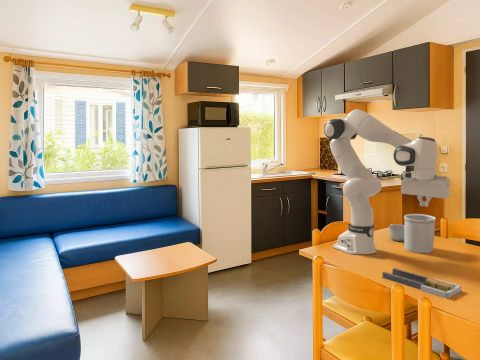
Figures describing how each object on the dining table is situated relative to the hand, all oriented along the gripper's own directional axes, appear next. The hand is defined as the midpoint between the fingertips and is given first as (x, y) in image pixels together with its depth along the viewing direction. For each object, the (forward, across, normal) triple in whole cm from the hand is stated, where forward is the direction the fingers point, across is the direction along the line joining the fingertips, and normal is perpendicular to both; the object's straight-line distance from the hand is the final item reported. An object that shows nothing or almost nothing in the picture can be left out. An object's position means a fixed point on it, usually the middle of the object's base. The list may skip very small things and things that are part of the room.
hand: (424, 206), depth 169 cm
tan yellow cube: (+28, -14, +18) cm, 36 cm away
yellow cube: (+29, -18, +18) cm, 38 cm away
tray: (+29, -17, +18) cm, 38 cm away
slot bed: (+29, -3, +18) cm, 34 cm away
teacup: (+29, +35, -39) cm, 60 cm away
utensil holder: (+29, +17, -29) cm, 45 cm away
